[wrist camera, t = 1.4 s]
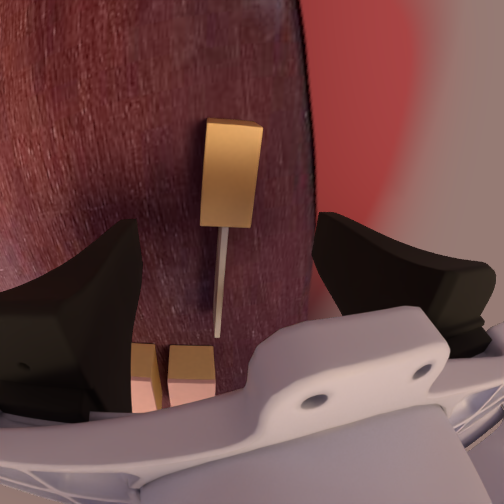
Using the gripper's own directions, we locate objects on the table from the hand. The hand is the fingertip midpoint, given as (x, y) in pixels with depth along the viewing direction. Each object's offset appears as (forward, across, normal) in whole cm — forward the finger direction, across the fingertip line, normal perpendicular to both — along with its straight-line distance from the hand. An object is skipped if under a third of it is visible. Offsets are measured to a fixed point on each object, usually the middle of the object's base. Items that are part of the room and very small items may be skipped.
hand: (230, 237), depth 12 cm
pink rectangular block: (+9, +9, +20) cm, 23 cm away
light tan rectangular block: (+9, +2, +20) cm, 22 cm away
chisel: (+9, -1, +4) cm, 10 cm away
